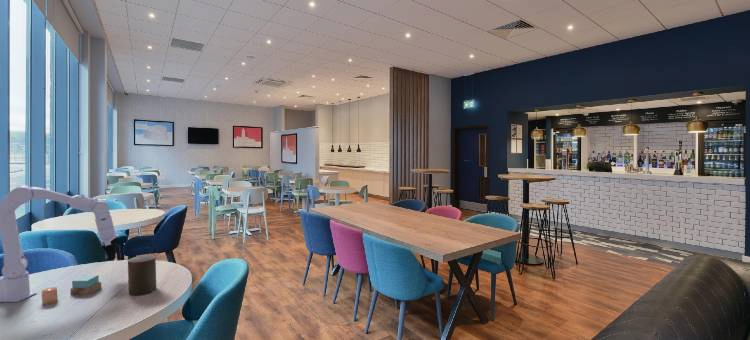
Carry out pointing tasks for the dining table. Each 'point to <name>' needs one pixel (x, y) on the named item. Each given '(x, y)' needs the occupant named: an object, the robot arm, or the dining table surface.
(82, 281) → the teal top slab
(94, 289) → the walnut base slab
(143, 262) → the pillar candle
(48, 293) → the terracotta cylinder
